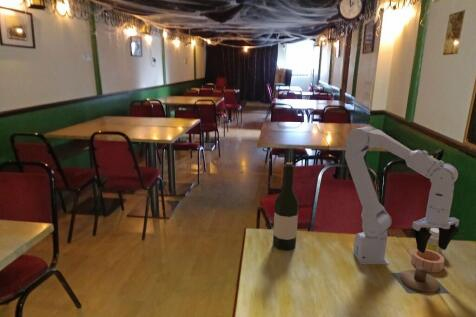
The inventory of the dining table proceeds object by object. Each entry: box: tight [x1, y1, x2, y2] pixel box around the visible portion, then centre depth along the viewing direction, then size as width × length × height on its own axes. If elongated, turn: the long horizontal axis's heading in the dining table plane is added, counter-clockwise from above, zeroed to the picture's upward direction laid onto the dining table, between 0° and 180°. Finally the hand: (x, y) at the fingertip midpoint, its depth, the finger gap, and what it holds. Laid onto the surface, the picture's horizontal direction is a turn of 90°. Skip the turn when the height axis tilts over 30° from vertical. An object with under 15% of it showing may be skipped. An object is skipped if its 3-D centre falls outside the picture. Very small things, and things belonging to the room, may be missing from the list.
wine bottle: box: [272, 162, 300, 252], centre depth 118 cm, size 8×8×30 cm
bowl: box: [410, 248, 445, 273], centre depth 110 cm, size 9×9×4 cm
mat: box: [391, 272, 451, 294], centre depth 100 cm, size 12×10×1 cm
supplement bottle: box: [426, 227, 443, 255], centre depth 117 cm, size 5×5×8 cm
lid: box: [400, 266, 440, 294], centre depth 100 cm, size 10×10×4 cm
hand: (431, 249), depth 101 cm, fingers open, 7 cm apart
